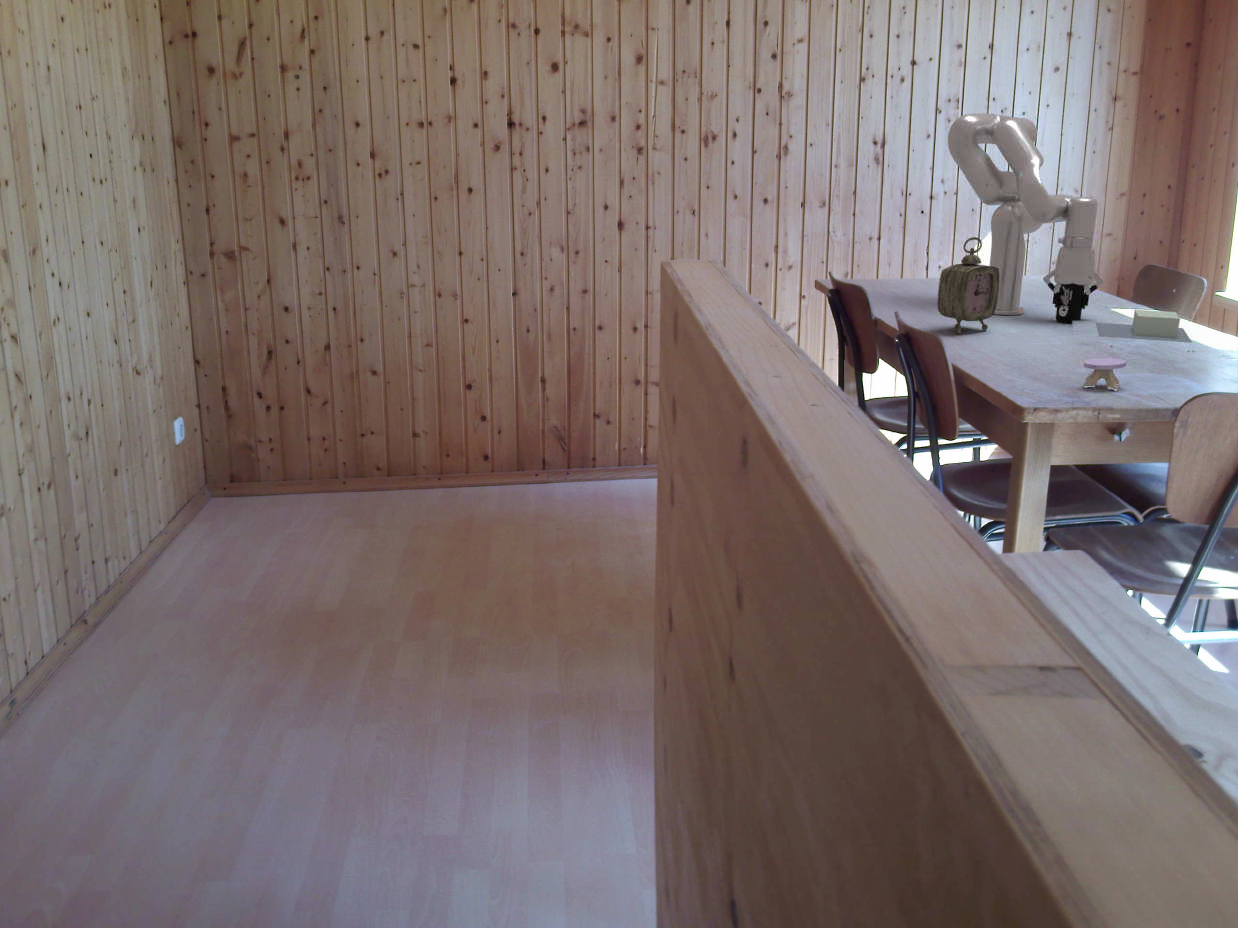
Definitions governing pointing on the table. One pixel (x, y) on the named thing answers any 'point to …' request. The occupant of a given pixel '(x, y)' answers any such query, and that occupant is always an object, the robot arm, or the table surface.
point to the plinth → (1156, 323)
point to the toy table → (1103, 371)
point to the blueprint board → (1128, 332)
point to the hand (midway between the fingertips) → (1069, 307)
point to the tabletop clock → (968, 290)
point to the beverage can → (1070, 303)
